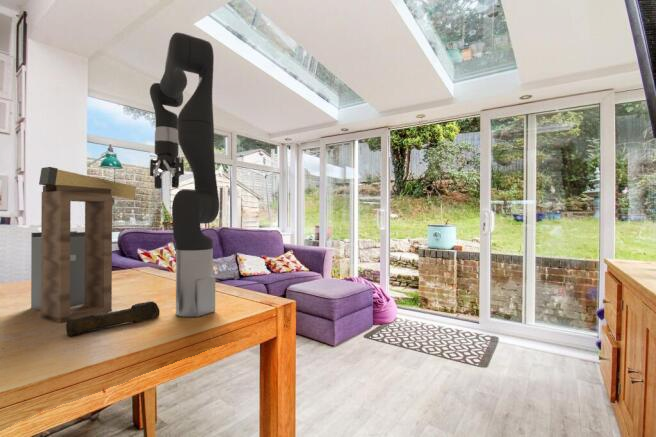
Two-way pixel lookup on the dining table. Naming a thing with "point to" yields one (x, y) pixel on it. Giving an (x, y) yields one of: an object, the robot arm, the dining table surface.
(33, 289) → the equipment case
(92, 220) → the brown tall rectangular frame
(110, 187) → the rod
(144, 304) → the hand tool
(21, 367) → the dining table surface
